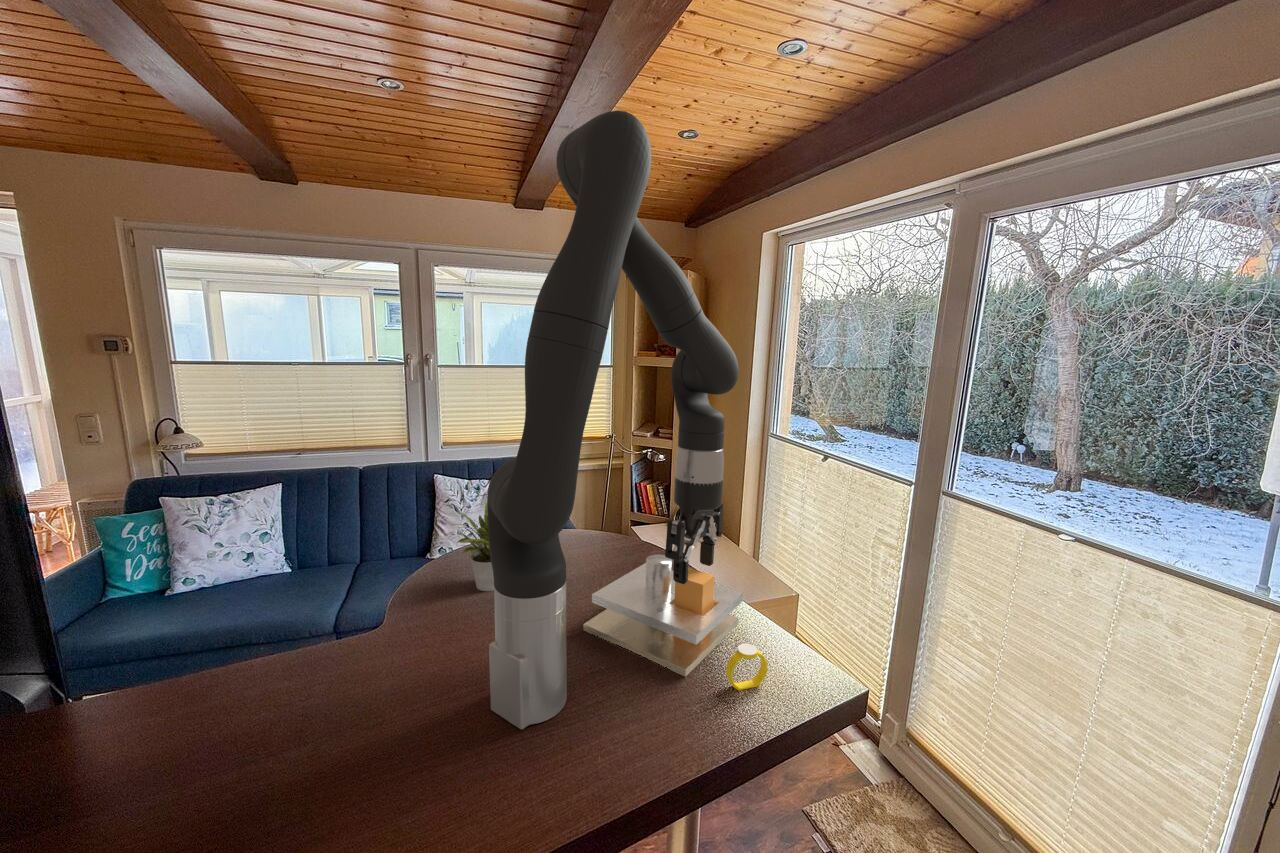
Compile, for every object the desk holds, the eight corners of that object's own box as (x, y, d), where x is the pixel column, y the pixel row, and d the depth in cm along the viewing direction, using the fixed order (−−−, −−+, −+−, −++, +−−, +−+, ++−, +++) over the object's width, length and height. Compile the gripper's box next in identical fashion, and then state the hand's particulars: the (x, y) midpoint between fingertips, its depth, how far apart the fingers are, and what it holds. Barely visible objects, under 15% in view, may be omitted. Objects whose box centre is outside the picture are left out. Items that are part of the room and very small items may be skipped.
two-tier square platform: (691, 679, 74) (694, 602, 72) (583, 630, 86) (583, 563, 84) (743, 625, 89) (747, 560, 87) (644, 590, 101) (645, 532, 99)
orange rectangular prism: (700, 643, 81) (703, 584, 80) (673, 633, 84) (675, 576, 82) (711, 632, 84) (714, 575, 83) (685, 622, 87) (687, 567, 86)
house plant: (446, 574, 106) (443, 498, 103) (513, 563, 112) (512, 491, 109) (452, 606, 93) (449, 520, 91) (528, 592, 99) (527, 511, 96)
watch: (732, 698, 71) (732, 659, 70) (723, 685, 74) (722, 648, 73) (770, 687, 73) (770, 649, 72) (760, 675, 76) (759, 638, 74)
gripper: (697, 489, 72) (692, 596, 75) (740, 471, 84) (734, 564, 86) (653, 479, 76) (649, 581, 79) (699, 463, 88) (695, 553, 90)
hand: (693, 572), depth 83 cm, fingers open, 8 cm apart
